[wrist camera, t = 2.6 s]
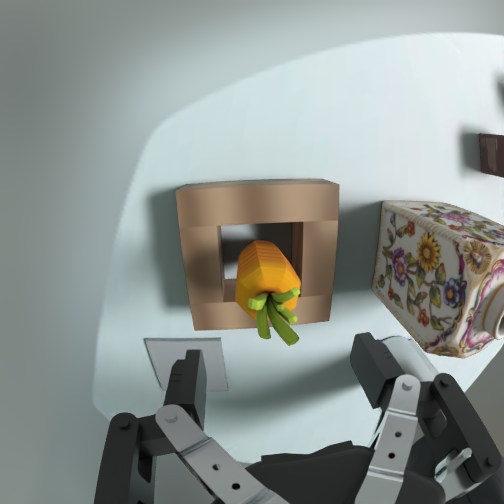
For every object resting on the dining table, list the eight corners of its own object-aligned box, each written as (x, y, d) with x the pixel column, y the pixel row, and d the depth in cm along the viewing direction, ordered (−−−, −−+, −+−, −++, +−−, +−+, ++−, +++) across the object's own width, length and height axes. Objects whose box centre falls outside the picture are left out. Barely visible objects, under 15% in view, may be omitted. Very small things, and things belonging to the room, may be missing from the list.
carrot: (228, 230, 28) (221, 308, 14) (274, 217, 28) (312, 283, 14) (241, 272, 30) (247, 370, 16) (285, 260, 30) (323, 349, 16)
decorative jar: (368, 290, 32) (447, 389, 15) (378, 199, 28) (500, 256, 11) (435, 281, 33) (515, 351, 16) (448, 202, 28) (552, 247, 12)
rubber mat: (220, 337, 33) (220, 340, 32) (227, 388, 37) (227, 390, 36) (146, 338, 33) (145, 341, 32) (163, 387, 36) (162, 390, 36)
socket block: (322, 178, 27) (339, 184, 22) (316, 297, 32) (329, 320, 27) (185, 184, 26) (175, 191, 22) (199, 305, 31) (194, 330, 27)
